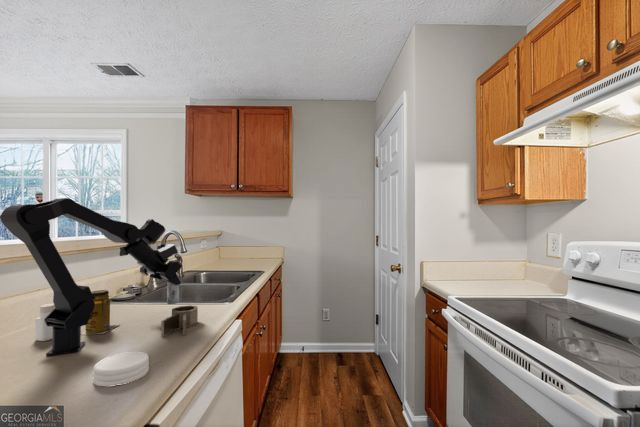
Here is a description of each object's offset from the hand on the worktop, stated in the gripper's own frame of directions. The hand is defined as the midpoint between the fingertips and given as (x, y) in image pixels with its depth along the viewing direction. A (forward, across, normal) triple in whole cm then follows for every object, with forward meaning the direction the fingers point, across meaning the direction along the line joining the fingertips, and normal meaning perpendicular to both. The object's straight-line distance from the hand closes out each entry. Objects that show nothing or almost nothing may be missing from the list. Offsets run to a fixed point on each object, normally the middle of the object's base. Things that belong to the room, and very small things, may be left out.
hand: (176, 283), depth 109 cm
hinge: (+4, -13, +12) cm, 19 cm away
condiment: (-7, +6, +23) cm, 25 cm away
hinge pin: (+4, 0, +6) cm, 7 cm away
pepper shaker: (-15, +9, +32) cm, 36 cm away
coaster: (-12, -32, +29) cm, 45 cm away
